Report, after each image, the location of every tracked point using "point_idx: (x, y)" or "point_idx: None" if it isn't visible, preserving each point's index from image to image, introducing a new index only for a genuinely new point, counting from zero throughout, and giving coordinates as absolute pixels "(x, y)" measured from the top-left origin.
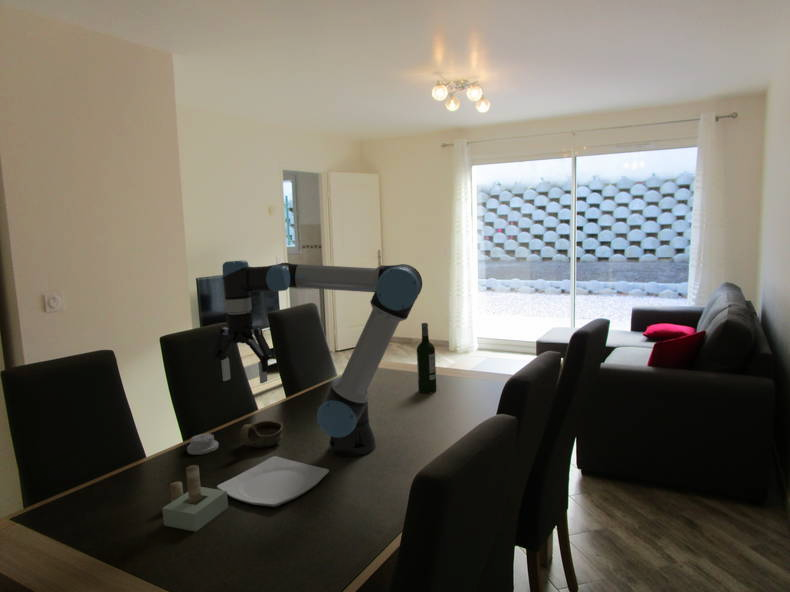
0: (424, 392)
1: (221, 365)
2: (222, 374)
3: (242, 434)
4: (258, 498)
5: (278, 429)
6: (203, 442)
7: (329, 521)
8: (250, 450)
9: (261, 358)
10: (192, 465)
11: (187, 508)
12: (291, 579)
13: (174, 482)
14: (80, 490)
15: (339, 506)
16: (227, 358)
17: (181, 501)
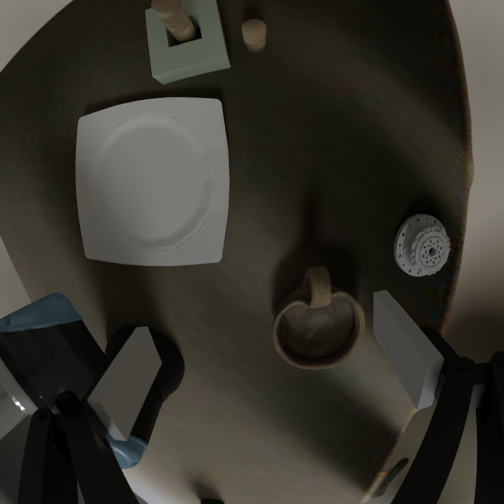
0: (209, 499)
1: (433, 342)
2: (400, 306)
3: (318, 269)
4: (133, 129)
5: (303, 356)
6: (415, 237)
7: (25, 152)
8: None
9: (71, 417)
10: (172, 5)
11: None
12: (13, 62)
13: (264, 30)
14: (452, 43)
15: (33, 188)
16: (423, 403)
17: (201, 14)
